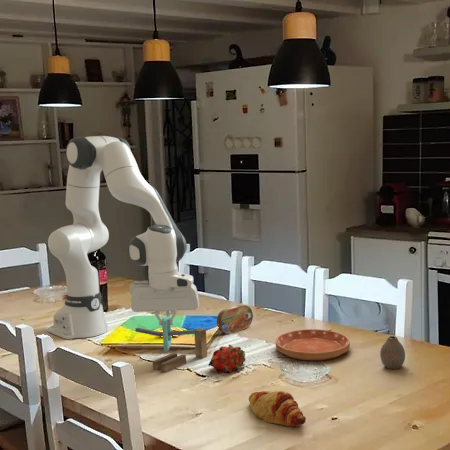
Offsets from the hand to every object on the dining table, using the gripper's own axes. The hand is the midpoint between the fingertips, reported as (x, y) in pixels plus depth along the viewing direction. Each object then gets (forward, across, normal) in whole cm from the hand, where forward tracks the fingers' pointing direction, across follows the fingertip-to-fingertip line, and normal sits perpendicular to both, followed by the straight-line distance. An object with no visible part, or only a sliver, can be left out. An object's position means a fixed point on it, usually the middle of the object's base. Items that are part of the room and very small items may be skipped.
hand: (166, 324), depth 208 cm
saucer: (+12, +44, +8) cm, 46 cm away
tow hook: (+12, -3, +30) cm, 32 cm away
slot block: (+12, +1, -6) cm, 13 cm away
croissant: (+12, +32, -40) cm, 53 cm away
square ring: (+7, 0, 0) cm, 7 cm away
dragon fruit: (+12, +18, -10) cm, 24 cm away
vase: (+12, +66, -8) cm, 67 cm away
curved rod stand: (+12, +1, +4) cm, 12 cm away
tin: (+12, +19, +31) cm, 39 cm away
